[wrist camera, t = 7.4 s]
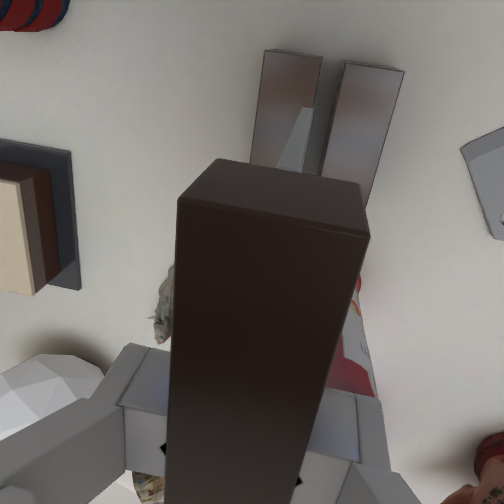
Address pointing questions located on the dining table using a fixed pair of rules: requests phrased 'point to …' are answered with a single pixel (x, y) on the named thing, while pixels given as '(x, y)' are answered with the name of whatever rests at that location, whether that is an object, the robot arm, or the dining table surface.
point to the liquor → (353, 355)
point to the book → (31, 14)
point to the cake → (37, 219)
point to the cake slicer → (256, 322)
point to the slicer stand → (342, 119)
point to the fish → (164, 310)
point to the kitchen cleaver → (488, 177)
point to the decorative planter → (485, 475)
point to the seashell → (149, 488)
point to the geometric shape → (43, 389)
